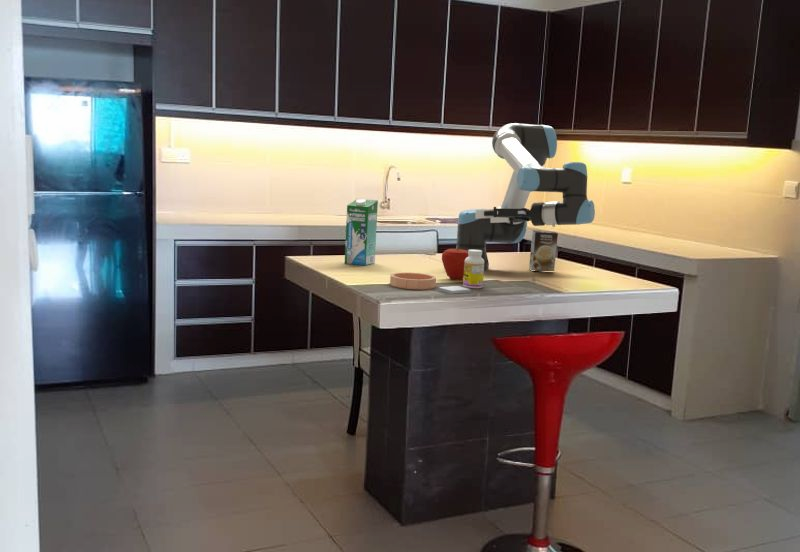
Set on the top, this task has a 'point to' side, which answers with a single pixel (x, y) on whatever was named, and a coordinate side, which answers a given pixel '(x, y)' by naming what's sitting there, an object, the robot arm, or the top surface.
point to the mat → (451, 294)
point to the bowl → (413, 280)
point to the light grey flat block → (454, 289)
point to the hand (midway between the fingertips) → (483, 216)
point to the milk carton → (361, 232)
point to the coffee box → (543, 251)
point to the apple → (454, 262)
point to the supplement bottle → (473, 269)
